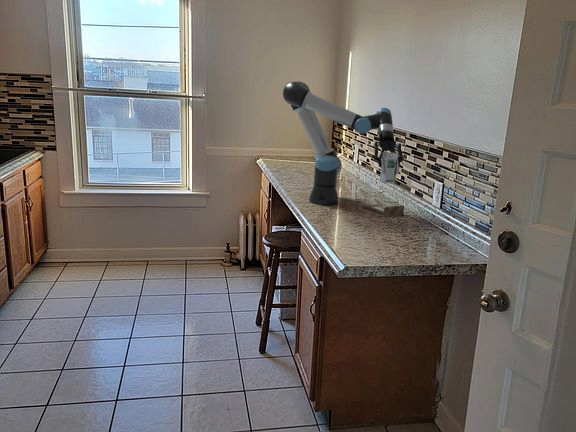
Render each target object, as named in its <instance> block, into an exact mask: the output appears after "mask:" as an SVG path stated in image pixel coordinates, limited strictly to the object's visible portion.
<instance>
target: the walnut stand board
mask: <svg viewBox="0 0 576 432" xmlns="http://www.w3.org/2000/svg"><path fill="white" fill-rule="evenodd" d="M363 209H365V210H367V211H370V212H373V213H376V214H378V215H382V216H385V217H390V216H397V215H404V211H405V205H403V204H400V205H393V206H388V205H386V204H382V203H381V204H380V203H379V204H369V205H363Z"/></svg>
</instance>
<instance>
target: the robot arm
mask: <svg viewBox="0 0 576 432" xmlns="http://www.w3.org/2000/svg"><path fill="white" fill-rule="evenodd" d="M282 96H283V99H284V101H285V102H286V103H287V104H289V105H290V106H291V109H292V110H293V112H294V113H297V115H298V118H299V120H300V122H301V124H302V127H303V129H304V131H305V133H306V135H307V138H308V141H309V142H310V143H309V144H310V145H311V146H312V148H313V151H314V157H313V159H314V161H315V162H314V175H313V176H314V178H313V186H312V189H311V193H310V195H309V197H308V200H309V201H308V202H310V203H312V204H316V205H323V206H334V205H337V204H338V203H339V197H338V191H337V180H338V175H339V174H340V173H341V170H342V168H343V167H342V161H341V159H340V157H339V156H338V155H337V152H336V150H335V148H332V147H331V146H330V143H329V141H328V140H327V137H326V134H325V133H324V130H323V128H322V126H321V123H320V120H319V119H318V117H317V114H318V115H321V116H323V117H326V118H328V119H330V120H332V121H335V122H336V123H339V124H341V125H343V126H346V127H347V128H349V129H352V130H354V131H355V132H356V133H359V134H366V133H368V132H370V131H372V130H377V131H378V141H379V142H377V141H376V142H375V141H374V142H373V143H374V144H373V148H374V151H373V152H374V156H373V161H375V162H377V163H378V164H377V165H378V167H379V168H380V174H383V172H384V164H383V160H382V153H383V152H386V151H388V152H389V153H397V154H398V161H397V170H396V175H399V173H400V168H401V163H403V161H404V155H403V151H402V143H396V141H395V134H394V126H393V116H392V112H391V110H390V109H389V108H387V107H380V108H379V109H378V110H377V111H376V113H375V114H370V115H364V116H362V115H360V114H357V113H356V112H353V111H351V110H349V109H346V108H344V107H342V106H340V105H338V104H335V103H333V102H331V101H330V100H326V99H324V98H322V97H319V96H318V95H315V94H313V93H312V91H311V90H310V87H309V85H307V84H306V83H305V82H303V81H291V82H288V83H287V84H286V85H285V86H284V88H283V90H282ZM379 147H380V148H381V151H380V154H379V153H378V152H379ZM395 147H396V148H395Z"/></svg>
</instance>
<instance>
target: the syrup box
mask: <svg viewBox="0 0 576 432" xmlns="http://www.w3.org/2000/svg"><path fill="white" fill-rule="evenodd" d="M381 159H382V160H383V164H384V172H383V174H381V173H380V176H379V181H380V182H382V183H383V184H396V177H397V174H396V170H397V161H398V152H396V153H391V152H386V151H384V152H383V153H382V158H381Z"/></svg>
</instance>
